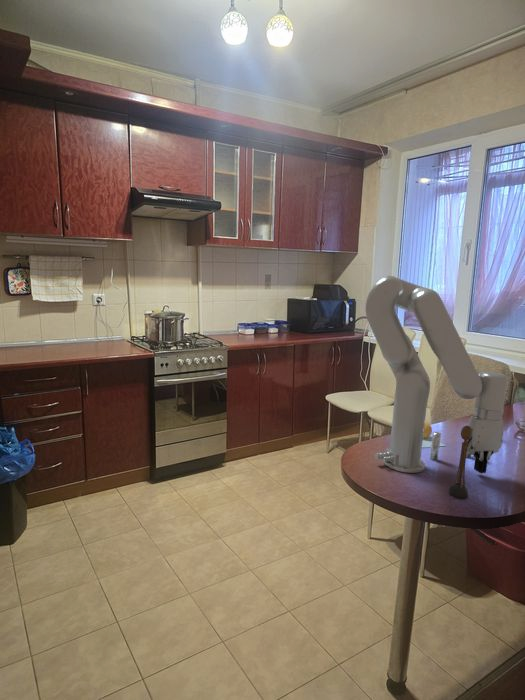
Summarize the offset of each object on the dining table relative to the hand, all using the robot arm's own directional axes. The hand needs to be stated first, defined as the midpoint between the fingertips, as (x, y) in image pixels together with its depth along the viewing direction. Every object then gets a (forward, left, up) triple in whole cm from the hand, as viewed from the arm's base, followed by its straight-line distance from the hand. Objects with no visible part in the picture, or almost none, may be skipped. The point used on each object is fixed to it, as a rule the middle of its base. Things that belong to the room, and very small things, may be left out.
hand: (479, 471), depth 134 cm
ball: (+2, +31, +2) cm, 31 cm away
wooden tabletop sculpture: (-14, -9, -2) cm, 17 cm away
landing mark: (0, +27, -2) cm, 27 cm away
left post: (-6, +13, -2) cm, 15 cm away
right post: (+7, +13, -2) cm, 15 cm away
